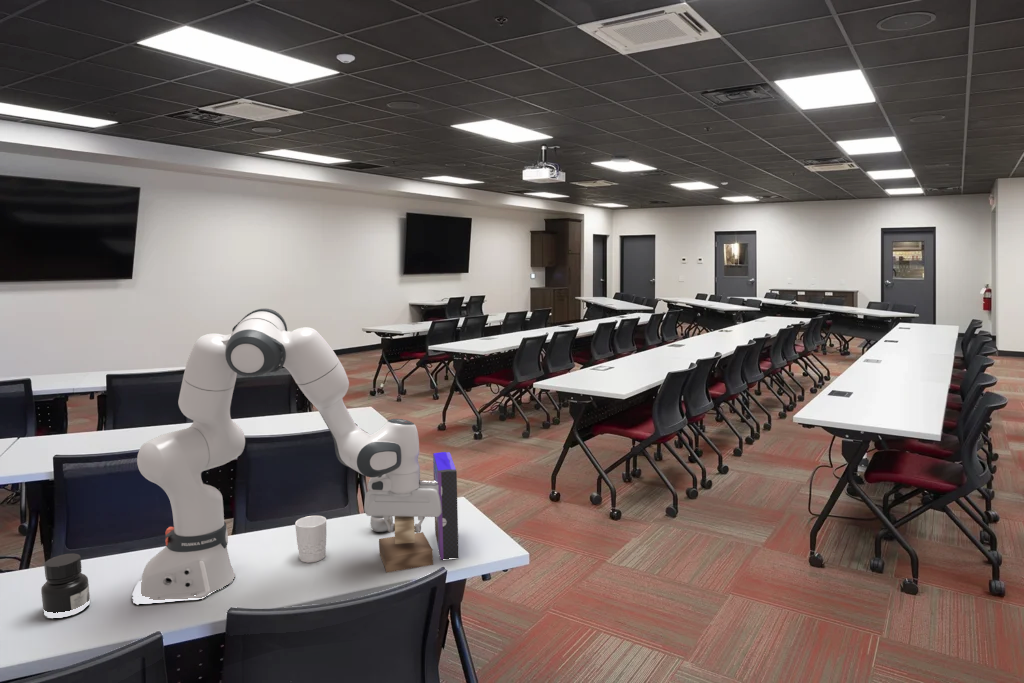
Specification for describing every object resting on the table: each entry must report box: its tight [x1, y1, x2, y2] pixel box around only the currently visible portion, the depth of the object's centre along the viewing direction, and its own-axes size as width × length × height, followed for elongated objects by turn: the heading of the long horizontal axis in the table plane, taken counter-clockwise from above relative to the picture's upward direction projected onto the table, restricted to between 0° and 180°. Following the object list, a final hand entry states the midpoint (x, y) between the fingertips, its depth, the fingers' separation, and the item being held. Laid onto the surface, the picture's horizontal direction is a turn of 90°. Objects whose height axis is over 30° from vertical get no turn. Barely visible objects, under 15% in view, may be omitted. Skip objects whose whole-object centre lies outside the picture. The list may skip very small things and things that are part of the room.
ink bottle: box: [41, 553, 91, 613], centre depth 150 cm, size 10×9×12 cm
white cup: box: [294, 515, 327, 563], centre depth 176 cm, size 8×8×10 cm
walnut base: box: [378, 531, 434, 573], centre depth 174 cm, size 12×12×4 cm
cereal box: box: [432, 451, 460, 561], centre depth 181 cm, size 17×5×24 cm, turn 11°
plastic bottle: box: [368, 477, 394, 533], centre depth 192 cm, size 6×7×20 cm
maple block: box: [394, 516, 416, 544], centre depth 173 cm, size 5×5×6 cm
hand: (404, 531), depth 174 cm, fingers closed on maple block, 5 cm apart
